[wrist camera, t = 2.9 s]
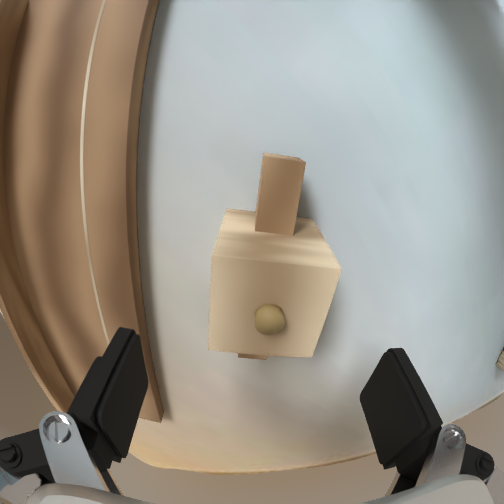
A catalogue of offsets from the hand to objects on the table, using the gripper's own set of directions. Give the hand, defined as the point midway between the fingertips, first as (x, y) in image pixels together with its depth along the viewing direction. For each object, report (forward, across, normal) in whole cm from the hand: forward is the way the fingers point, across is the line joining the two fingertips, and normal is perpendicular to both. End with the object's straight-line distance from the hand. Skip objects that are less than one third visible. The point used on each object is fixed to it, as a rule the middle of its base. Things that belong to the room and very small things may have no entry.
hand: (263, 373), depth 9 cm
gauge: (+8, 0, -1) cm, 9 cm away
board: (+8, +14, 0) cm, 16 cm away
